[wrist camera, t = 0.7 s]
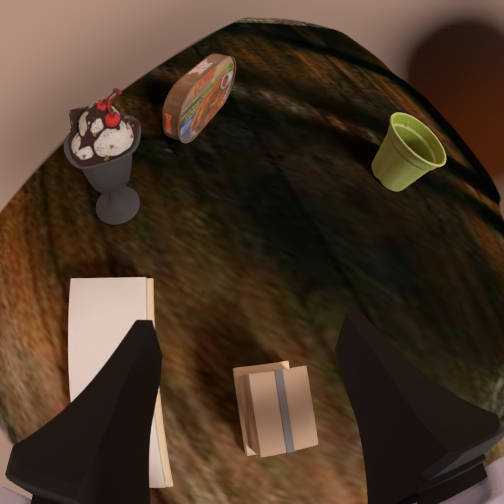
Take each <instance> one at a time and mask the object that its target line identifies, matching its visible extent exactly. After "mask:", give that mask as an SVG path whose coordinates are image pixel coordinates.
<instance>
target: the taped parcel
mask: <svg viewBox="0 0 504 504" xmlns="http://www.w3.org/2000/svg"><path fill="white" fill-rule="evenodd" d="M233 374H234V382H235V389H236V396H237V403H238V410H239V417H240V423H241V430H242V436H243V443H244V449H245V454H246V455H247V456H249V455H255V454H258V455H259V456H260V457H267V456H272V455H277V454H281V453H289V452H294V451H295V450H299V449H303V448H307V447H311V446H315V445H318V439H317V432H316V425H315V419H314V412H313V405H312V399H311V393H310V386H309V380H308V374H307V368H306V366H301V367H295V368H289V363H288V361H284V362H277V363H270V364H263V365H255V366H247V367H238V368H233Z"/></svg>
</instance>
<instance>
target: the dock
mask: <svg viewBox="0 0 504 504" xmlns="http://www.w3.org/2000/svg"><path fill="white" fill-rule="evenodd" d="M136 320H152V321H153V325H154V328H155V317H154V280H153V278H146V277H125V278H71V282H70V297H69V318H68V364H69V385H70V399H71V402H72V401H73V400H74V399H75V398H76V397H77V396H78V395H79V394H80V393H81V392H82V391H83V390H84V389H85V387H86V386H87V385H88V384H89V383H90V382H91V381H92V379H93V378H94V377H95V376H96V374H97V373H98V372H99V371H100V369H101V368H102V367H103V366H104V364H105V363H106V362H107V361H108V359H109V358H110V356H111V355H112V354H113V352H114V351H115V350H116V348H117V347H118V345H119V344H120V343H121V341H122V340H123V338H124V337H125V335H126V334H127V332H128V331H129V329H130V328H131V327H132V325H133V324H134V322H135V321H136ZM149 487H150V488H165V487H173V481H172V475H171V469H170V464H169V458H168V451H167V445H166V438H165V431H164V424H163V416H162V407H161V398H160V389H158V394H157V400H156V405H155V410H154V416H153V421H152V427H151V435H150V452H149Z"/></svg>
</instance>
